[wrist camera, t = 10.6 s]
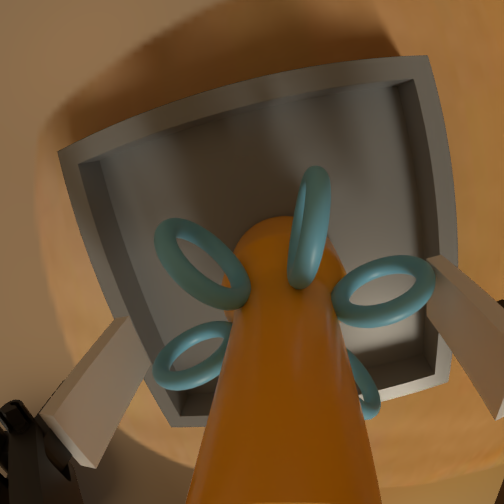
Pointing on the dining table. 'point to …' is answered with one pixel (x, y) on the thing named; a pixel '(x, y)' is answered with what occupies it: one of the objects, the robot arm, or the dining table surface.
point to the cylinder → (283, 357)
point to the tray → (274, 203)
